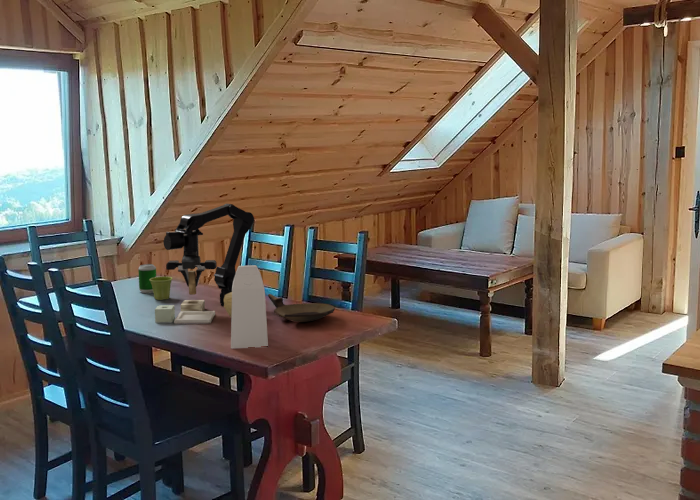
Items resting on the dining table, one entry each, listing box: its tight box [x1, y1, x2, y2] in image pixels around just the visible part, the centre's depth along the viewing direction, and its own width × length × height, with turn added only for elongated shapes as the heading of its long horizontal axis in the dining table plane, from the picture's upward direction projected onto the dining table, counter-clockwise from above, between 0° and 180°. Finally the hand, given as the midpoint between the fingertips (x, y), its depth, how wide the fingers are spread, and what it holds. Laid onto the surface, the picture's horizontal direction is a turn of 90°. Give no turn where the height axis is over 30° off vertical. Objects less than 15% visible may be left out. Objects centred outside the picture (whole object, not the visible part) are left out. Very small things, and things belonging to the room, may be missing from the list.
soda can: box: [138, 263, 157, 294], centre depth 307 cm, size 8×8×12 cm
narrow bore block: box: [154, 304, 176, 323], centre depth 258 cm, size 6×6×5 cm
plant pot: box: [150, 276, 173, 301], centre depth 294 cm, size 9×9×9 cm
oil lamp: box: [267, 293, 336, 323], centre depth 261 cm, size 22×30×8 cm
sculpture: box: [223, 292, 232, 318], centre depth 263 cm, size 12×12×11 cm
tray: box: [173, 310, 216, 325], centre depth 260 cm, size 13×13×2 cm
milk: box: [230, 264, 269, 350], centre depth 228 cm, size 12×12×26 cm
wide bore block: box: [180, 299, 206, 312], centre depth 273 cm, size 8×8×4 cm
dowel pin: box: [188, 270, 197, 296], centre depth 271 cm, size 3×3×9 cm
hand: (192, 286), depth 272 cm, fingers closed on dowel pin, 3 cm apart
